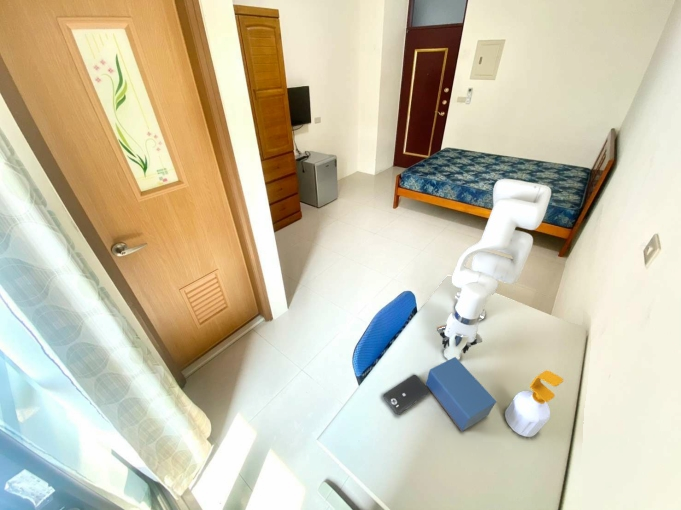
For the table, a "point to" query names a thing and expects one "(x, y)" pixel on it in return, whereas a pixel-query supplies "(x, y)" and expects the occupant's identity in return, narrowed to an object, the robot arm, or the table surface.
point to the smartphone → (406, 394)
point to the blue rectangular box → (459, 393)
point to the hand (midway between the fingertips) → (454, 347)
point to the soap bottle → (532, 406)
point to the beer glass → (455, 346)
